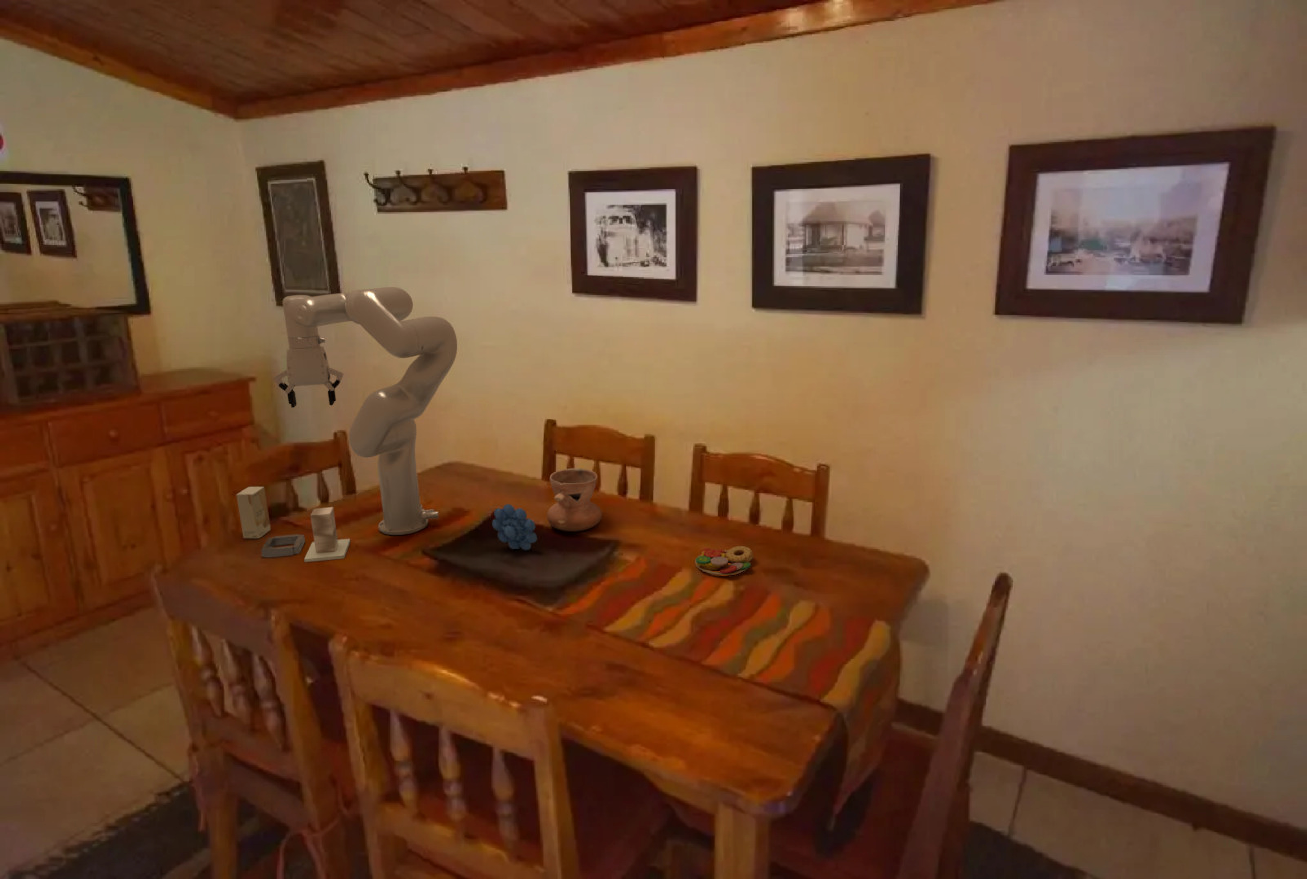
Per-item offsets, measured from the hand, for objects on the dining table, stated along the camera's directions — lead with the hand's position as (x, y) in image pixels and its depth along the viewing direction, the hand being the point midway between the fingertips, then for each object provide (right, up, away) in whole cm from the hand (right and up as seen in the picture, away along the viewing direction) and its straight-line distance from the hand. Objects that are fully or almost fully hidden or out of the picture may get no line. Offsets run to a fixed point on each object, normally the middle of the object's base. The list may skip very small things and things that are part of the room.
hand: (313, 405), depth 208 cm
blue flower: (+58, -37, -19) cm, 71 cm away
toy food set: (+109, -40, -27) cm, 119 cm away
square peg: (+12, -36, -18) cm, 42 cm away
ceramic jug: (+72, -32, -3) cm, 79 cm away
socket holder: (0, -37, -17) cm, 40 cm away
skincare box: (-11, -34, -7) cm, 37 cm away
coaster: (+12, -37, -18) cm, 43 cm away
